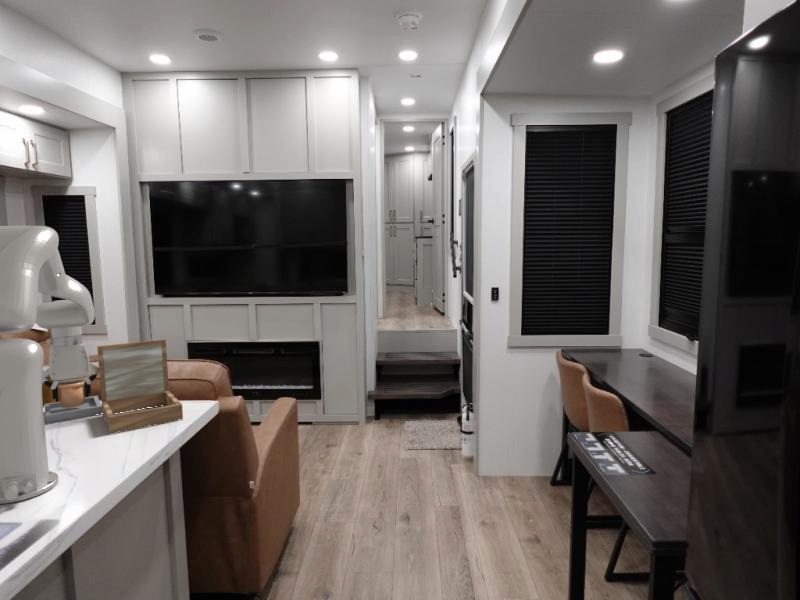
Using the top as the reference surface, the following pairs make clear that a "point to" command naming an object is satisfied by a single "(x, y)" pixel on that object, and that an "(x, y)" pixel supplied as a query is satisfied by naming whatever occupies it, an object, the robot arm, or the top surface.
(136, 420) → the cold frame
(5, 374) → the robot arm
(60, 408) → the slate tray
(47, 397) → the disposable coffee cup
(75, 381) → the terracotta pot
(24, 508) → the top surface
